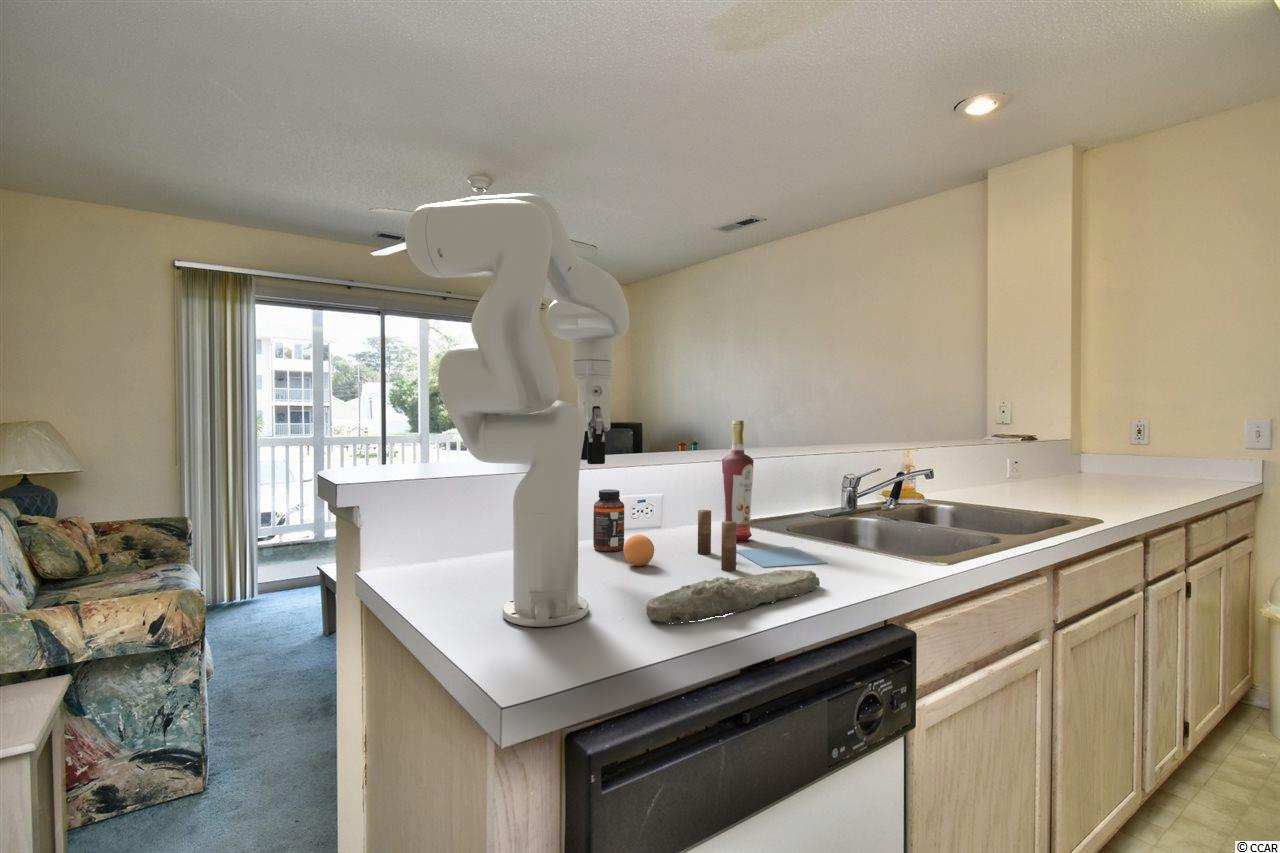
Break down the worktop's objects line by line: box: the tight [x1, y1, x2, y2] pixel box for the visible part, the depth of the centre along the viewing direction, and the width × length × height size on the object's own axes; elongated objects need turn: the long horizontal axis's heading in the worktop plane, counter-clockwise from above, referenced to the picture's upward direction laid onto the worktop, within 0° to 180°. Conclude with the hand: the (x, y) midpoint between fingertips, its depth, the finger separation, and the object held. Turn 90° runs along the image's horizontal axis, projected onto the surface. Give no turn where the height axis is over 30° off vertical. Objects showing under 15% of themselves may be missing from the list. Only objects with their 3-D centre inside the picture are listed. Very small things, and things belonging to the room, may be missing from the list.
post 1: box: [697, 509, 712, 556], centre depth 125 cm, size 3×3×9 cm
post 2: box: [720, 520, 737, 572], centre depth 112 cm, size 3×3×9 cm
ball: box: [623, 534, 655, 567], centre depth 115 cm, size 6×6×6 cm
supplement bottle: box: [592, 488, 625, 553], centre depth 128 cm, size 7×7×13 cm
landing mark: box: [736, 546, 829, 568], centre depth 122 cm, size 14×14×1 cm
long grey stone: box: [645, 569, 820, 625], centre depth 93 cm, size 35×5×10 cm
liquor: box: [721, 420, 754, 543], centre depth 138 cm, size 7×7×28 cm
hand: (591, 461), depth 112 cm, fingers open, 9 cm apart
